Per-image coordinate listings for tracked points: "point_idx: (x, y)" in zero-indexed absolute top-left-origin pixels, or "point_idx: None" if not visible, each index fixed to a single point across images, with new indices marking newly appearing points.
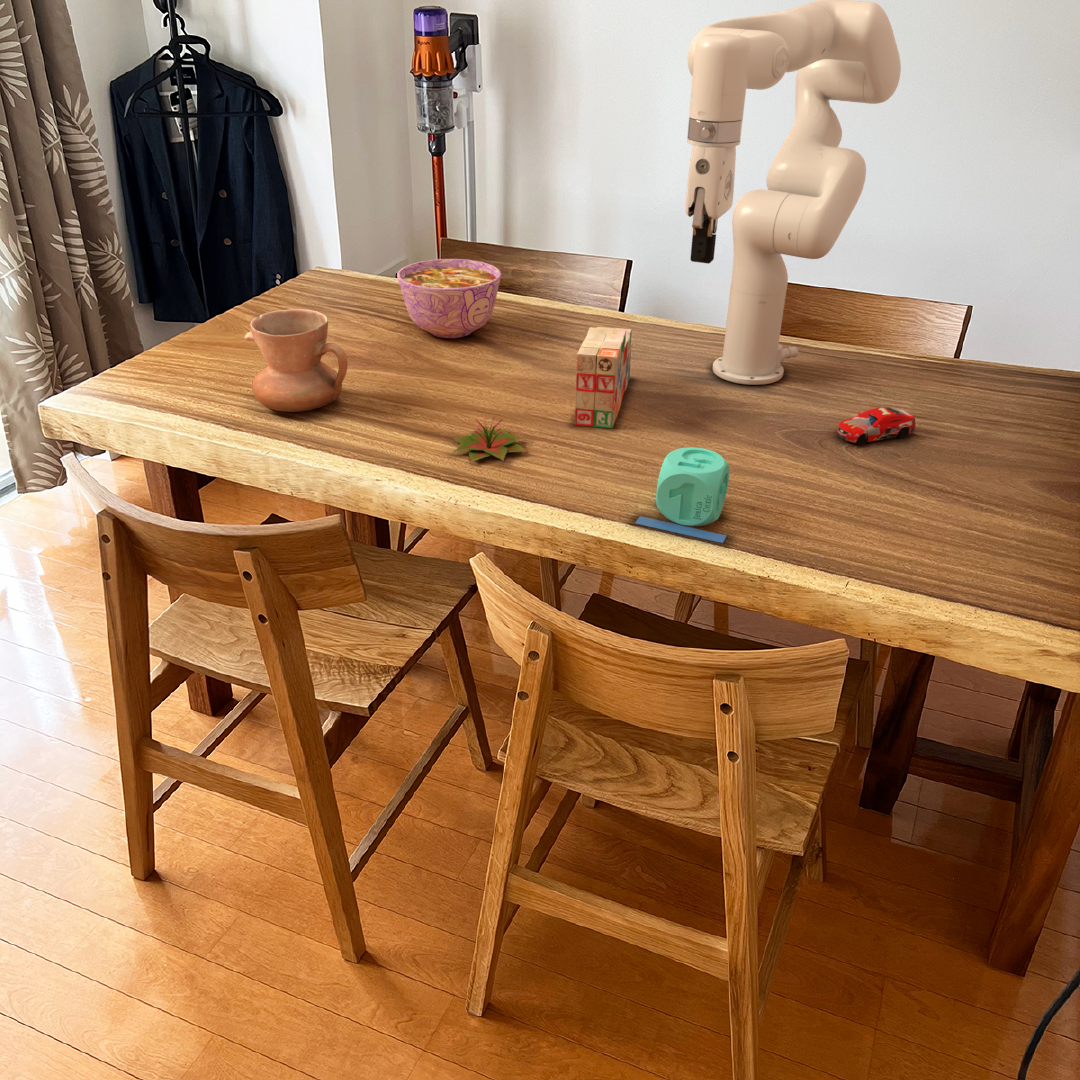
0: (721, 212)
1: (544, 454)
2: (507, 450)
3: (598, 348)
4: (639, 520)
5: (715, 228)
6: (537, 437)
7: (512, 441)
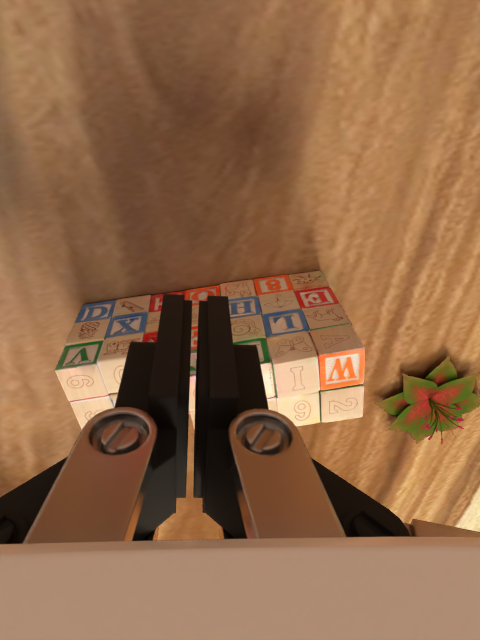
0: (467, 602)
1: (436, 333)
2: (444, 378)
3: (318, 393)
4: None
5: (106, 442)
6: (379, 359)
7: (427, 382)
